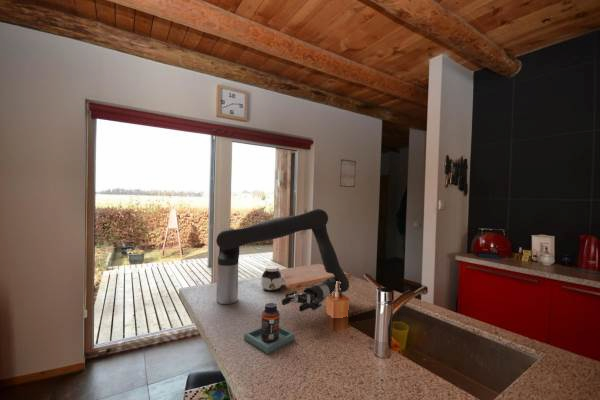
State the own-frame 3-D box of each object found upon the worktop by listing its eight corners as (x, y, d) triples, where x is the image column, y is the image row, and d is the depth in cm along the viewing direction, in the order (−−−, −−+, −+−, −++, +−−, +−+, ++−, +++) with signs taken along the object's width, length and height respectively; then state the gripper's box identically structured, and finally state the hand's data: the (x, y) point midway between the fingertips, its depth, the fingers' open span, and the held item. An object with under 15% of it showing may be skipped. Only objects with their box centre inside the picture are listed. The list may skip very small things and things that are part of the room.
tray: (244, 340, 92) (244, 333, 92) (271, 328, 101) (271, 322, 101) (267, 354, 84) (267, 347, 84) (294, 340, 93) (294, 333, 93)
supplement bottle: (275, 344, 89) (276, 309, 89) (258, 341, 90) (259, 307, 90) (280, 335, 95) (281, 302, 95) (264, 332, 96) (265, 300, 96)
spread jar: (260, 291, 140) (260, 268, 140) (266, 284, 151) (266, 263, 151) (282, 292, 138) (283, 269, 138) (287, 285, 149) (288, 264, 149)
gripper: (303, 281, 118) (277, 290, 105) (331, 288, 109) (306, 300, 96) (303, 298, 118) (276, 310, 105) (331, 307, 109) (306, 321, 96)
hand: (291, 305), depth 101 cm, fingers open, 8 cm apart
